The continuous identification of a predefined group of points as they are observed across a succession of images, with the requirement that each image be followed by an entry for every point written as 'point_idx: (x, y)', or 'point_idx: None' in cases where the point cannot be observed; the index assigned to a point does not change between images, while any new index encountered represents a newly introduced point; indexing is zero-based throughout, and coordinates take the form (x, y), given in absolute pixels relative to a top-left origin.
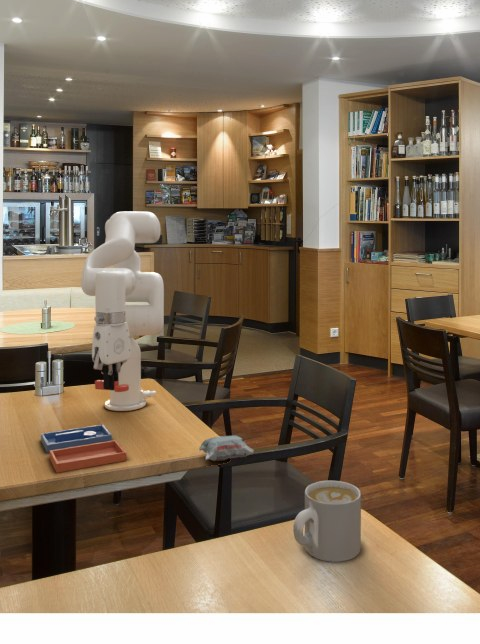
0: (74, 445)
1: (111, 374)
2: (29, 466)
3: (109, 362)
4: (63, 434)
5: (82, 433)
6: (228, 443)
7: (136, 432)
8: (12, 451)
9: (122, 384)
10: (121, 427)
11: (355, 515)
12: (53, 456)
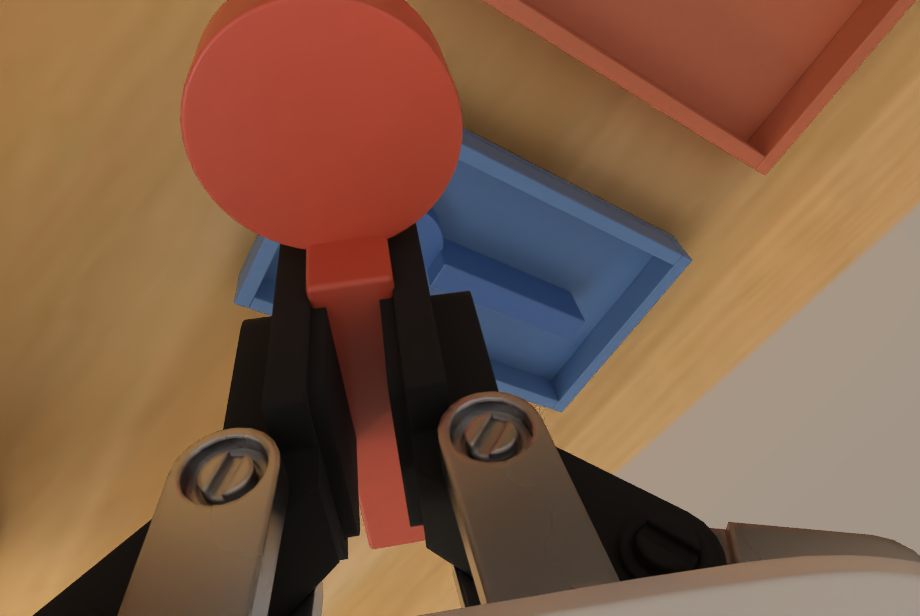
0: (561, 182)
1: (468, 403)
2: (862, 149)
3: (902, 605)
4: (550, 306)
5: (449, 259)
6: None
7: (54, 78)
8: (711, 365)
9: (240, 206)
10: (91, 249)
11: None
12: (849, 72)
